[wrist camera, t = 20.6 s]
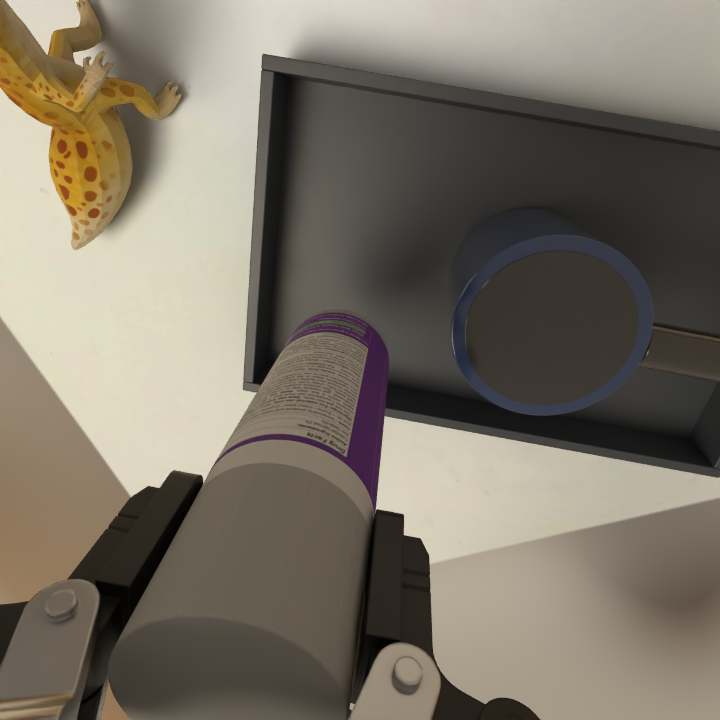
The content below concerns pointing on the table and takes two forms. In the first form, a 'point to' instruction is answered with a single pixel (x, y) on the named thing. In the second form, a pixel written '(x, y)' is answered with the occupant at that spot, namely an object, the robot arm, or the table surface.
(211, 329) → the table surface
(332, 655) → the container
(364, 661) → the robot arm
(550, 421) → the tray
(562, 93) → the table surface
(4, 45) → the toy
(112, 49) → the table surface
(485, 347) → the blue saucepan
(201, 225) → the table surface
